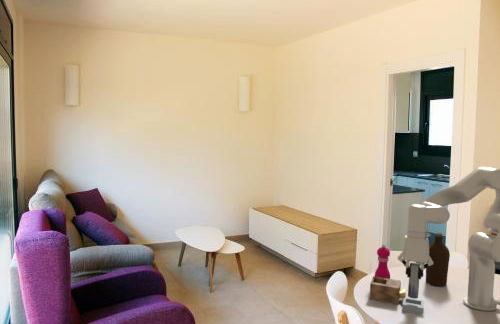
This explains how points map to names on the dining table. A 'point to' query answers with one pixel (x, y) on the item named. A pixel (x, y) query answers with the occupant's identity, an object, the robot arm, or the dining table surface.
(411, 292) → the grey cylinder
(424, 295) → the dining table surface
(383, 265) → the pepper mill
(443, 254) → the olive oil
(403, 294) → the tan wooden t-shaped piece
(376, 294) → the socket block
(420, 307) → the grey square tray
